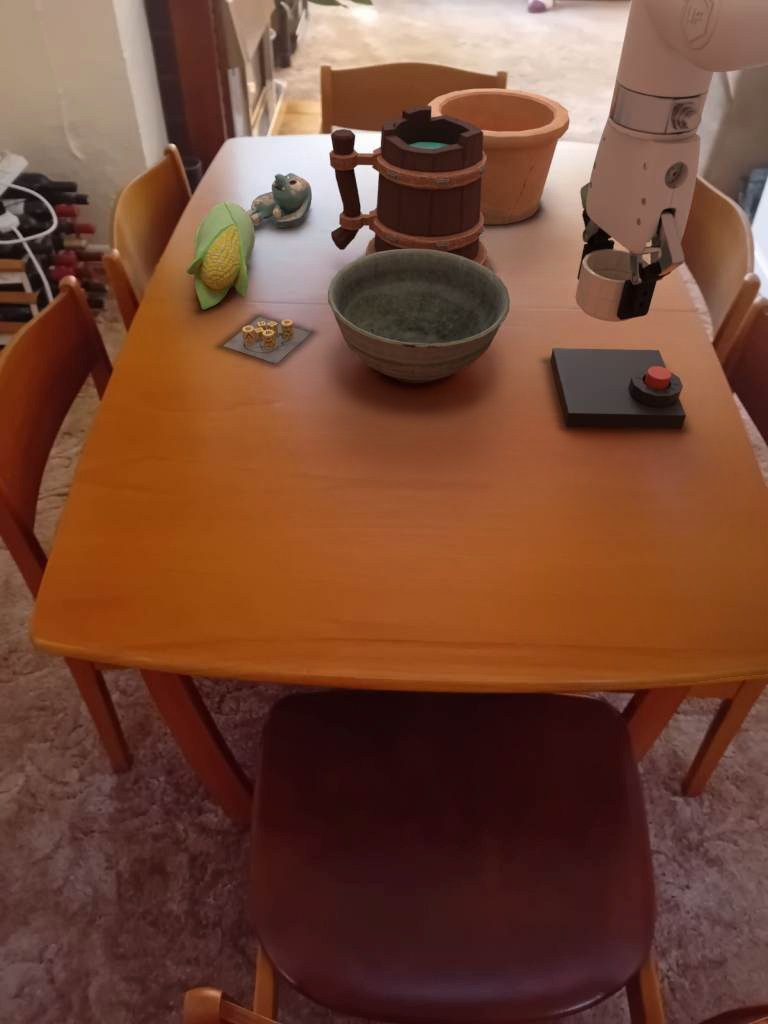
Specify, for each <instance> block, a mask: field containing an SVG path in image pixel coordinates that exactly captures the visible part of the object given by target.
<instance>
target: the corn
mask: <svg viewBox="0 0 768 1024" xmlns="http://www.w3.org/2000/svg"><path fill="white" fill-rule="evenodd" d="M254 229H255V228H254V224H253V223H252V220H251V218H250V216H249V215H248V214H247V211H246V210H245V209H244V208H243V207H242V206H241V205H239V204H237V203H233V202H229V201H223V202H220V203H218V204H216V205H214V206H212V208H210V210H209V211H208V212H207V214H206V215H205V216H204V217H203V219H202V221H201V222H200V223H199V225H198V227H197V229H196V232H195V238H194V257H193V258H194V259H193V262H192V263H190V265H189V266H188V268H187V269H186V273H187V274H188V275H193V278H194V279H193V280H194V287H195V291H196V295H197V298H198V301H199V304H200V307H201V310H203V311H204V310H208V309H210V308H213V307H214V306H217V304H219V303H220V302H222V301H223V299H224V298H225V297H226V296H227V293H228V292H229V290H230V289H231V288H233V286H234V289H235V290H236V292H237V293H239V294H240V295H241V296H242V297H244V296H246V293H247V290H248V287H249V286H248V285H249V278H248V267H247V266H248V264H249V262H250V261H251V259H252V254H253V251H254V247H255V242H256V235H255V230H254Z"/></svg>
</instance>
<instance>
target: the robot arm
mask: <svg viewBox="0 0 768 1024" xmlns="http://www.w3.org/2000/svg"><path fill="white" fill-rule="evenodd" d="M628 12H629V13H628V18H627V22H626V28H625V33H624V38H623V41H622V47H621V52H620V57H619V63H618V67H617V73H616V76H615V77H616V78H615V83H614V87H613V91H612V98H611V102H610V108H609V112H608V117H607V120H606V122H605V125H604V128H603V131H602V133H601V137H600V140H599V144H598V146H597V150H596V154H595V158H594V161H593V165H592V169H591V175H590V178H589V182H587V183H586V184H584V185H583V186H581V188H580V191H579V194H580V199H581V204H582V209H583V210H582V214H581V216H582V217H581V218H582V220H583V224H584V229H583V231H582V235H581V237H582V242H584V244H583V247H582V248H583V249H582V253H581V258H580V262H579V268H578V273H577V276H576V277H577V281H579V276H580V271H581V266H582V261H583V259H584V258H585V256H586V255H587V254H589V253H591V252H593V251H596V250H602V249H615V244H616V243H615V241H616V242H617V243H619V245H621V246H622V247H623V248H625V249H626V251H630V275H631V279H629V280H625V283H624V287H623V291H622V295H621V299H620V303H619V307H618V311H617V317H618V318H619V319H620V320H625V319H629V320H631V319H636V318H641V317H644V316H646V315H648V313H649V311H650V307H651V304H652V299H653V296H654V292H655V289H656V286H657V282H660V281H662V280H663V279H664V278H665V277H667V276H668V275H670V274H671V273H672V271H674V270H676V269H677V268H678V267H680V266H681V265H683V264H684V262H685V260H686V259H685V254H684V250H683V247H682V240H683V237H684V234H685V232H686V231H685V230H686V227H687V223H688V220H689V215H690V211H691V206H692V203H693V197H694V192H695V188H696V182H697V175H698V169H699V163H700V153H701V136H700V135H699V134H697V133H698V130H699V126H701V125H700V124H701V123H702V115H703V111H704V109H705V104H706V101H707V97H708V94H709V90H710V86H711V83H712V80H713V76H714V73H727V72H729V73H730V72H735V71H740V70H748V69H755V68H759V67H765V66H768V0H631V2H630V8H629V11H628ZM613 239H614V240H613ZM647 243H651V245H647ZM649 254H650V262H651V264H649V265H648V266H646V267H644V268H643V259H642V256H643V255H649ZM630 318H631V319H630Z"/></svg>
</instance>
